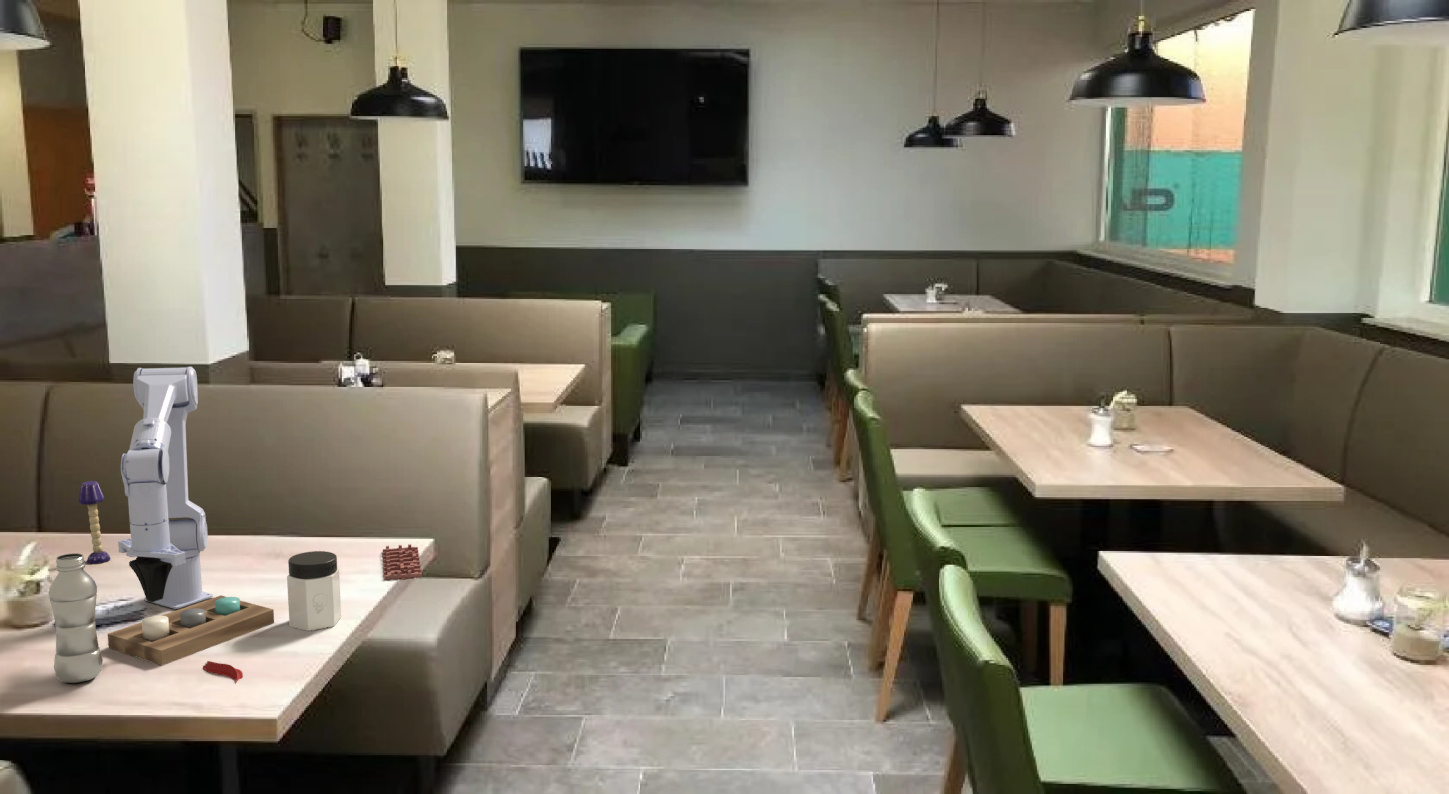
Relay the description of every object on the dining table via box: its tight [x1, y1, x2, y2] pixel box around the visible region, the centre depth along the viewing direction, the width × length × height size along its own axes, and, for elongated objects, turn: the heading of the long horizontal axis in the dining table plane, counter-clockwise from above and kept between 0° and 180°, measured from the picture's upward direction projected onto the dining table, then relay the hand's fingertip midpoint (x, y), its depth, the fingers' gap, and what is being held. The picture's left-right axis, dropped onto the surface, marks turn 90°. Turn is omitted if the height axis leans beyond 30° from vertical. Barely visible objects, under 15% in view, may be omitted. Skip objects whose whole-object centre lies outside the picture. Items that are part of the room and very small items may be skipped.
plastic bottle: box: [48, 552, 104, 684], centre depth 179 cm, size 6×7×20 cm
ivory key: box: [141, 615, 169, 641], centre depth 193 cm, size 4×4×3 cm
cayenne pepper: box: [203, 660, 244, 684], centre depth 184 cm, size 12×5×2 cm, turn 36°
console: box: [107, 594, 275, 666], centre depth 199 cm, size 14×22×2 cm, turn 151°
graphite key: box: [180, 609, 206, 629], centre depth 199 cm, size 4×4×3 cm
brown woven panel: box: [382, 543, 423, 581], centre depth 238 cm, size 7×19×2 cm, turn 17°
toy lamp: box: [78, 480, 111, 565], centre depth 236 cm, size 5×5×17 cm
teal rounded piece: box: [215, 596, 241, 616], centre depth 205 cm, size 4×4×3 cm
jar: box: [286, 550, 342, 632], centre depth 205 cm, size 9×8×12 cm
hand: (155, 599), depth 192 cm, fingers closed
